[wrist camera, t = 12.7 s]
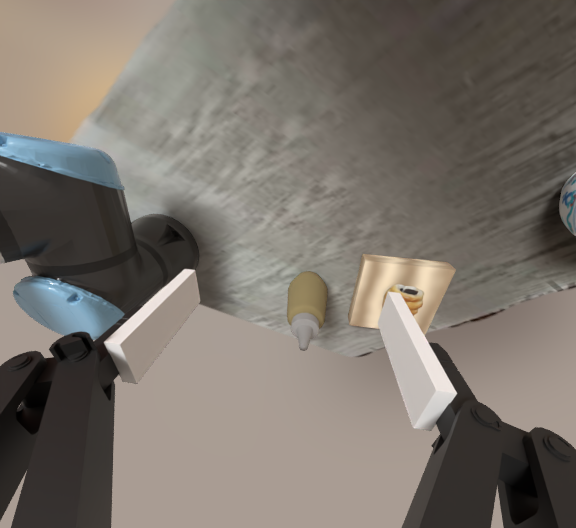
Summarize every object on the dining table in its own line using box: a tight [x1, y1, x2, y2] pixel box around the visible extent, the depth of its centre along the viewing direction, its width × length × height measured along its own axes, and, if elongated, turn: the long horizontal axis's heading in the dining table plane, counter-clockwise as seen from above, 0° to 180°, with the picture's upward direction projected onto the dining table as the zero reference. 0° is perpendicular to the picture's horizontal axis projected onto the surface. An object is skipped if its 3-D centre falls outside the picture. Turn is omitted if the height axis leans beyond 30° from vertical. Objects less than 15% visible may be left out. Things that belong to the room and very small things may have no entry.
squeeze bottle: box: [287, 271, 327, 351], centre depth 40 cm, size 8×8×18 cm
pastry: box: [382, 284, 424, 316], centre depth 43 cm, size 9×7×4 cm
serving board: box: [348, 254, 456, 334], centre depth 45 cm, size 16×16×3 cm
